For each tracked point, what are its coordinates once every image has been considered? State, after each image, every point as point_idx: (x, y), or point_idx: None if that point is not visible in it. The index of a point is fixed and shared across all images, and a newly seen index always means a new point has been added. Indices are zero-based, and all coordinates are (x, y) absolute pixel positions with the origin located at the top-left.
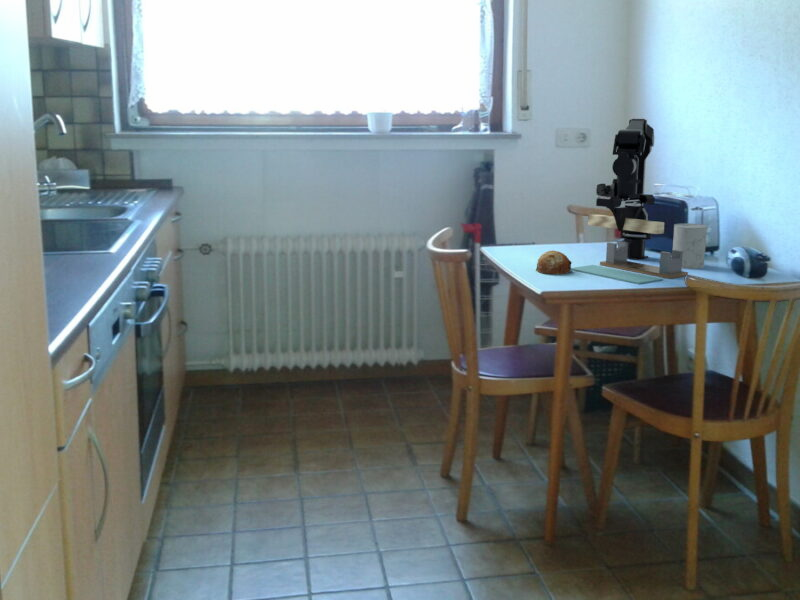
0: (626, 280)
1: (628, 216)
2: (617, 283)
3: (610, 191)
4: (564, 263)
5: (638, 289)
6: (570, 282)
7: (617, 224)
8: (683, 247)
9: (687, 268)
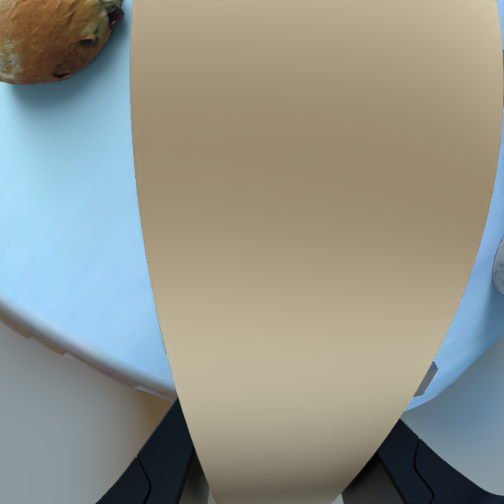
0: (157, 315)
1: (371, 491)
2: (115, 311)
3: None
4: (28, 82)
5: (124, 375)
6: (4, 220)
7: (171, 419)
8: None
9: (493, 279)
